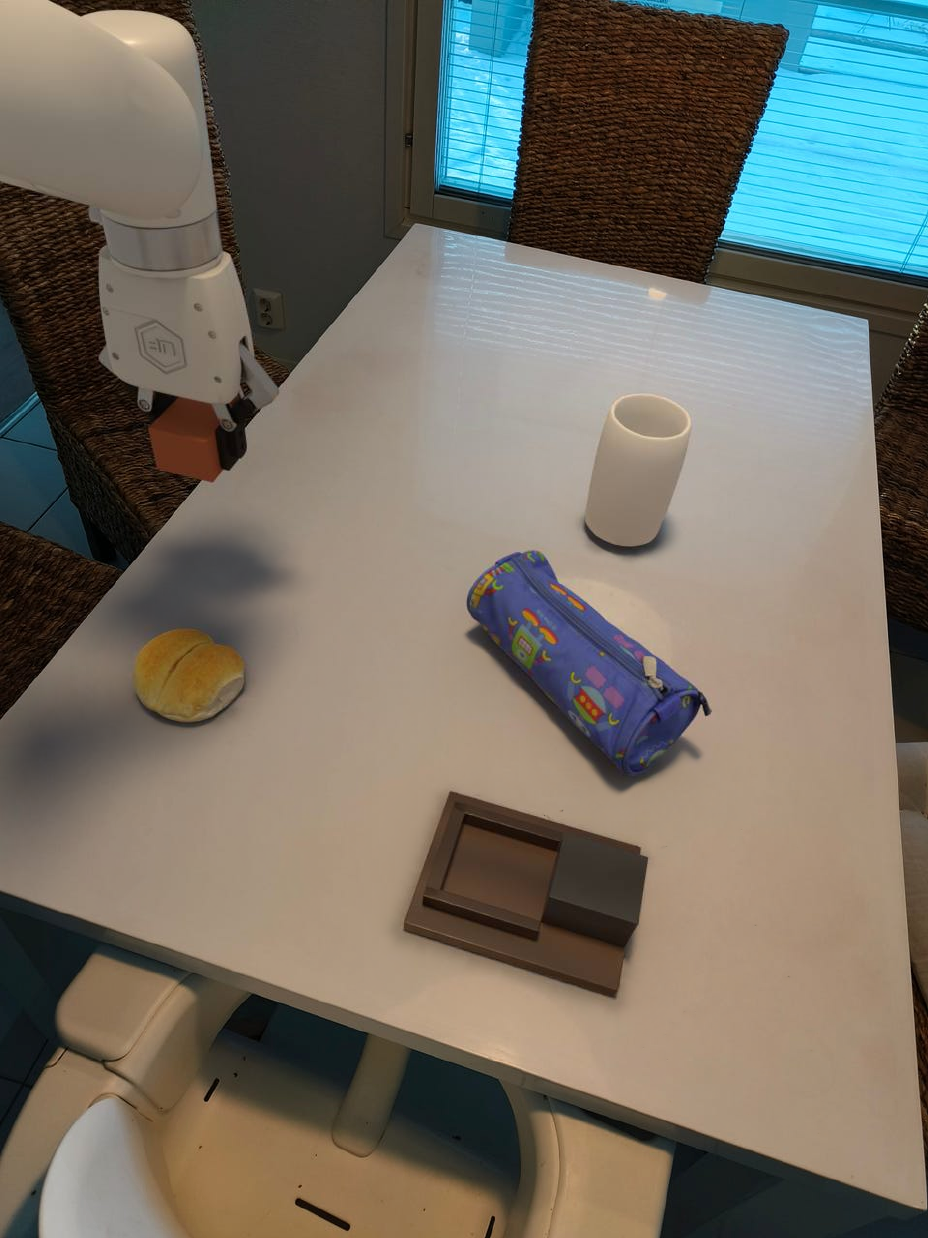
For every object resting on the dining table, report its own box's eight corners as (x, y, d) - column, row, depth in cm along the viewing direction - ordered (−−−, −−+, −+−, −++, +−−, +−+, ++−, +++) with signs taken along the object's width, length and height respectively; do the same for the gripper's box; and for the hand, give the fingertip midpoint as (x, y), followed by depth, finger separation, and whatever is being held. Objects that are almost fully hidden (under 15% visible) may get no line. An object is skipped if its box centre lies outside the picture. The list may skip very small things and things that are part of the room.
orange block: (156, 469, 70) (147, 427, 67) (192, 430, 74) (185, 389, 71) (212, 483, 69) (206, 441, 66) (245, 442, 73) (240, 402, 70)
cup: (590, 495, 94) (617, 382, 83) (665, 517, 92) (702, 404, 82) (570, 543, 88) (596, 427, 78) (650, 566, 86) (687, 452, 76)
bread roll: (184, 631, 76) (176, 600, 73) (261, 677, 73) (256, 646, 70) (112, 691, 71) (101, 660, 68) (192, 742, 68) (184, 712, 65)
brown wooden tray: (614, 997, 57) (631, 968, 53) (403, 930, 59) (404, 897, 55) (637, 854, 64) (654, 819, 61) (449, 798, 66) (453, 761, 63)
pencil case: (695, 751, 71) (729, 680, 64) (622, 803, 67) (651, 733, 60) (526, 594, 82) (540, 518, 75) (455, 630, 78) (463, 554, 72)
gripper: (18, 230, 57) (84, 455, 70) (255, 281, 55) (277, 503, 68) (83, 192, 62) (133, 408, 75) (302, 236, 60) (314, 451, 73)
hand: (201, 451), depth 71 cm, fingers closed on orange block, 5 cm apart
